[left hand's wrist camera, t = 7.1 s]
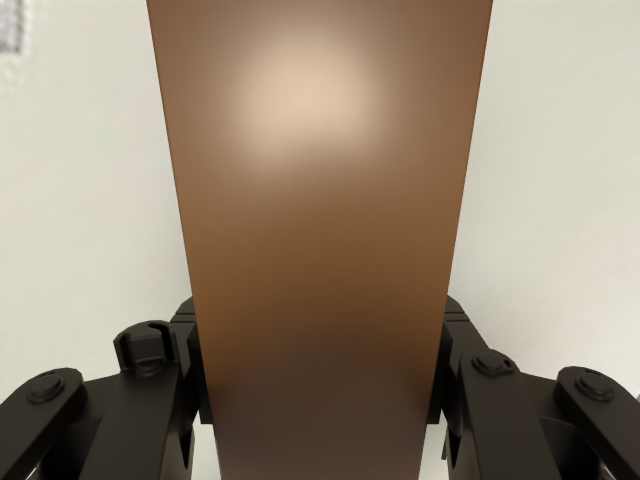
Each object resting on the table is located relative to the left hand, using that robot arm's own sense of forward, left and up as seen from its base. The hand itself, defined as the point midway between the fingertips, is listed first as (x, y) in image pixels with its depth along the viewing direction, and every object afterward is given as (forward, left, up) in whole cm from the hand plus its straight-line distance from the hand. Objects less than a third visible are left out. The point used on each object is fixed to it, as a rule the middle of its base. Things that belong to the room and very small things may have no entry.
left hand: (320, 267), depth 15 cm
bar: (+8, +2, -1) cm, 9 cm away
